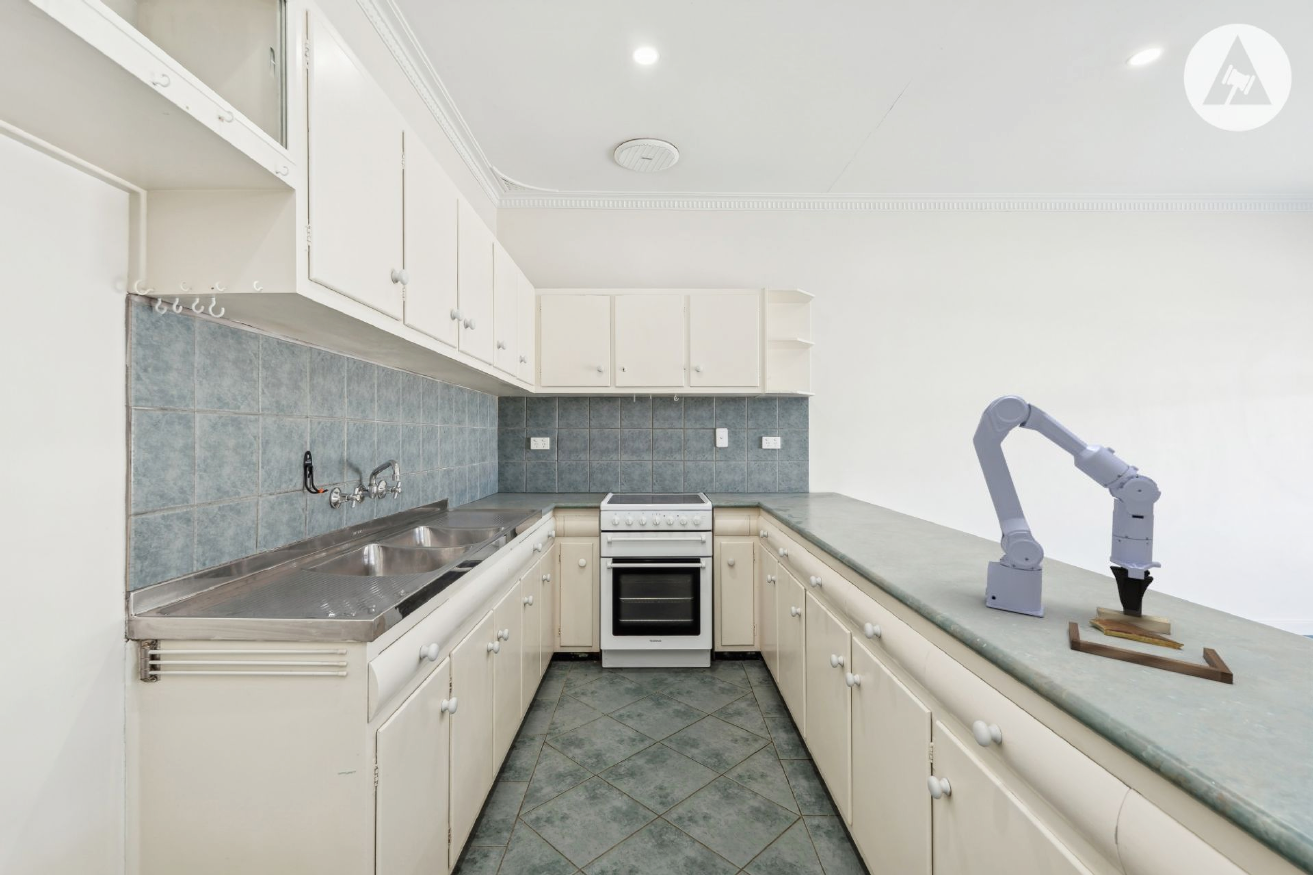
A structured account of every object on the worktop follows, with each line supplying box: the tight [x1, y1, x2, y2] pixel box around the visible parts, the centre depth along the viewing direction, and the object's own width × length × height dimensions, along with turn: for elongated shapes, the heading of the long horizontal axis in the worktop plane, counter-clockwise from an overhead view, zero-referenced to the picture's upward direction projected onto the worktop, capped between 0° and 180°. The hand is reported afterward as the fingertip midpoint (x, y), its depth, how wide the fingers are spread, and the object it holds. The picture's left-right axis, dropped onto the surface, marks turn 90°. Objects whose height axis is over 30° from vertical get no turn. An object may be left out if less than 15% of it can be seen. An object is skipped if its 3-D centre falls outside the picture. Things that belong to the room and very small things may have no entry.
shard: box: [1089, 618, 1185, 650], centre depth 91 cm, size 11×8×2 cm
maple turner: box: [1096, 601, 1172, 635], centre depth 97 cm, size 10×3×7 cm, turn 53°
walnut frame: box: [1068, 621, 1234, 685], centre depth 84 cm, size 18×11×2 cm, turn 52°
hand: (1129, 607), depth 97 cm, fingers closed on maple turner, 2 cm apart
